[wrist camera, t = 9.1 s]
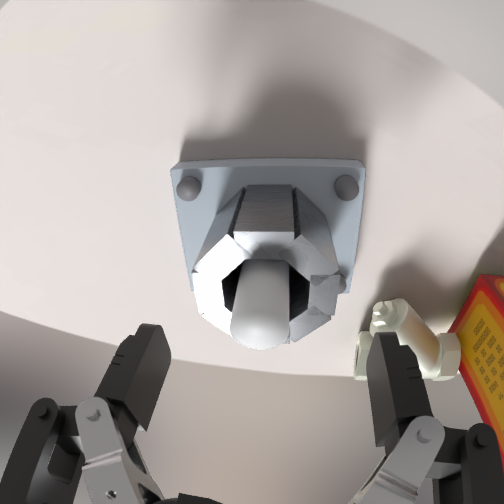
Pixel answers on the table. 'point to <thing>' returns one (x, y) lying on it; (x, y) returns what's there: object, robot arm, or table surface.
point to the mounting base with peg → (263, 270)
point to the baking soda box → (484, 350)
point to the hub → (269, 255)
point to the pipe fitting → (410, 341)
